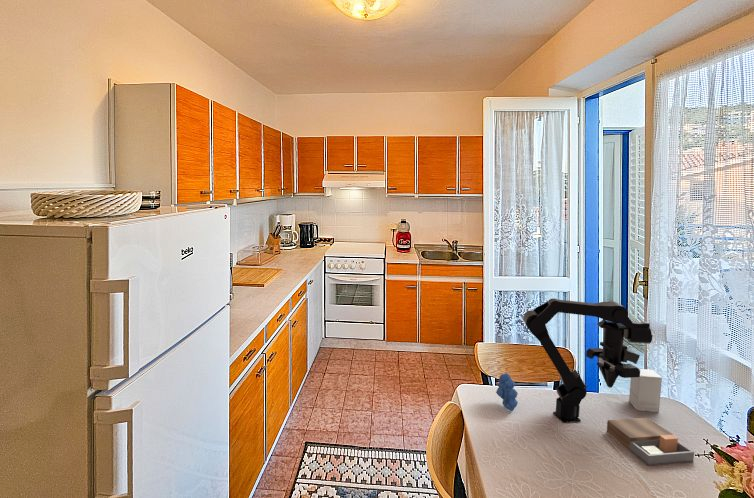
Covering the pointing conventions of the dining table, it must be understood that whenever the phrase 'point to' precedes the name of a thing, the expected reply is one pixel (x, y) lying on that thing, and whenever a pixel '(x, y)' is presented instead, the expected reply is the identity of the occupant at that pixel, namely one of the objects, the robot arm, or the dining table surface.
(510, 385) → the grapes
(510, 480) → the dining table surface
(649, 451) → the sage tile
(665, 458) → the tray
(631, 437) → the walnut board
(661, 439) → the terracotta tile
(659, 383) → the supplement box
